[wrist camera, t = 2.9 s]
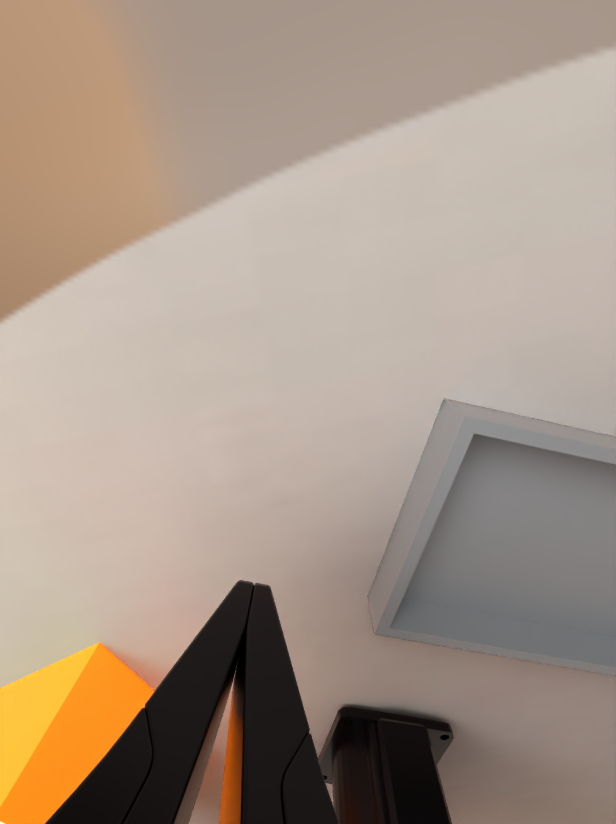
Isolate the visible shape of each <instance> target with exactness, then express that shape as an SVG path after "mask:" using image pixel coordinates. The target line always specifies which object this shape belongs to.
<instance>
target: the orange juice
mask: <svg viewBox="0 0 616 824" xmlns="http://www.w3.org/2000/svg"><path fill="white" fill-rule="evenodd" d="M153 693H154V690H153V689H152V688H151V687H149V686H148V685H147V684H146V683H145V682H144V681H143V680H142V679H140V678H139V677H138V676H137V675H136V674H135V673H134V672H132V671H131V670H130V669H129V668H128V667H127V666H126V665H125V664H123V663H122V662H121V661H120V660H119V659H118V658H117V657H115V656H114V655H113V654H112V653H111V652H110V651H109V650H108V649H106V648H105V647H104V646H103V645H102V644H101V643H100V642H99V643H97V644H95V645H93V646H91V647H89V648H87V649H84V650H82V651H80V652H78V653H76V654H74V655H71V656H69V657H67V658H65V659H63V660H61V661H59V662H56V663H54V664H52V665H50V666H48V667H46V668H43V669H41V670H39V671H37V672H35V673H33V674H31V675H28V676H26V677H24V678H22V679H20V680H18V681H15V682H13V683H11V684H9V685H7V686H5V687H2V688H0V824H45V822H46V821H47V820H48V819H49V818H50V817H51V816H52V815H53V814H54V812H55V811H56V810H57V809H58V808H59V807H60V806H61V805H62V804H63V802H64V801H65V800H66V799H67V798H68V797H69V796H70V795H71V794H72V793H73V791H74V790H75V789H76V788H77V787H78V786H79V785H80V783H81V782H82V781H83V780H84V779H85V778H86V776H87V775H88V774H89V773H90V772H91V771H92V770H93V768H94V767H95V766H96V765H97V764H98V763H99V761H100V760H101V759H102V758H103V757H104V756H105V754H106V753H107V752H108V751H109V749H110V748H111V747H112V746H113V744H114V743H115V742H116V741H117V739H118V738H119V737H120V736H121V734H122V733H123V732H124V730H125V729H126V728H127V727H128V725H129V724H130V723H131V721H132V720H133V719H134V717H135V716H136V715H137V713H138V712H139V711H140V710H141V708H143V707H145V703H146V702H147V701H148V699H149V698H150V697H151V695H152V694H153Z"/></svg>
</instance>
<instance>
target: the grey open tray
mask: <svg viewBox="0 0 616 824" xmlns="http://www.w3.org/2000/svg"><path fill="white" fill-rule="evenodd" d="M368 602H369V608H370V613H371V619H372V624H373V630H374V634H375V635H381V636H387V637H392V638H398V639H404V640H410V641H415V642H421V643H427V644H433V645H439V646H444V647H450V648H456V649H462V650H467V651H473V652H479V653H485V654H490V655H496V656H502V657H508V658H513V659H519V660H525V661H531V662H537V663H542V664H548V665H554V666H560V667H565V668H571V669H577V670H583V671H588V672H594V673H600V674H606V675H612V676H616V437H614V436H610V435H605V434H601V433H596V432H592V431H587V430H583V429H578V428H574V427H570V426H565V425H561V424H556V423H552V422H547V421H543V420H538V419H534V418H529V417H525V416H521V415H516V414H512V413H507V412H503V411H498V410H494V409H489V408H485V407H480V406H476V405H472V404H467V403H463V402H458V401H454V400H449V399H445V398H444V399H443V401H442V404H441V407H440V409H439V412H438V414H437V417H436V420H435V422H434V425H433V427H432V430H431V433H430V435H429V438H428V440H427V443H426V446H425V448H424V451H423V453H422V456H421V459H420V461H419V464H418V466H417V469H416V472H415V474H414V477H413V479H412V482H411V485H410V487H409V490H408V492H407V495H406V498H405V500H404V503H403V505H402V508H401V510H400V513H399V516H398V518H397V521H396V523H395V526H394V529H393V531H392V534H391V536H390V539H389V542H388V544H387V547H386V549H385V552H384V555H383V557H382V560H381V562H380V565H379V568H378V570H377V573H376V575H375V578H374V581H373V583H372V586H371V588H370V591H369V594H368Z"/></svg>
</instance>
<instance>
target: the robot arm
mask: <svg viewBox="0 0 616 824" xmlns="http://www.w3.org/2000/svg"><path fill="white" fill-rule="evenodd" d="M236 666H237V667H236ZM235 671H236V672H235ZM234 675H235V678H234ZM233 679H234V684H233V692H232V701H231V711H230V721H229V730H228V740H227V750H226V759H225V769H224V778H223V788H222V798H221V807H220V817H219V824H452V822H451V818H450V814H449V811H448V807H447V803H446V799H445V795H444V791H443V788H442V784H441V780H440V776H439V772H438V769H437V763H438V762H439V760H440V759H441V757H442V756H443V754H444V753H445V751H446V749H447V748H448V746H449V745H450V743H451V742H452V740H453V738H454V735H453V732H452V729H451V726H450V725H449V724H447V723H442V722H436V721H430V720H424V719H417V718H411V717H405V716H399V715H393V714H386V713H380V712H374V711H368V710H361V709H355V708H347V707H346V708H342V709H340V710H339V711H338V713H337V716H336V718H335V720H334V723H333V725H332V728H331V730H330V732H329V735H328V737H327V739H326V742H325V744H324V747H323V749H322V751H321V754H320V756H319V759H318V757H317V754H316V750H315V746H314V743H313V739H312V736H311V734H310V733H309V730H310V729H309V725H308V722H307V718H306V714H305V711H304V707H303V703H302V700H301V696H300V693H299V689H298V685H297V682H296V678H295V674H294V671H293V667H292V664H291V660H290V656H289V653H288V649H287V645H286V642H285V638H284V634H283V631H282V627H281V624H280V620H279V616H278V613H277V609H276V605H275V602H274V598H273V595H272V591H271V588H270V586H269V585H265V584H259V583H256V584H255V585H254V584H253V583H252V582H248V581H243V580H239V581H238V582H237V583H236V584H235V586H234V587H233V588H232V590H231V591H230V592H229V593H228V595H227V596H226V597H225V599H224V600H223V601H222V603H221V604H220V605H219V607H218V608H217V609H216V611H215V612H214V613H213V615H212V616H211V617H210V619H209V620H208V621H207V623H206V624H205V625H204V627H203V628H202V629H201V631H200V632H199V633H198V634H197V636H196V637H195V638H194V640H193V641H192V642H191V644H190V645H189V646H188V648H187V649H186V650H185V652H184V653H183V654H182V656H181V657H180V658H179V660H178V661H177V662H176V664H175V665H174V666H173V668H172V669H171V670H170V671H169V673H168V674H167V675H166V677H165V678H164V679H163V681H162V682H161V683H160V685H159V686H158V687H157V689H156V690H155V691H154V693H153V694H152V695H151V697H150V698H149V699H148V701H147V702H146V703H145V707H143V708H141V710H140V711H139V712H138V713H137V715H136V716H135V717H134V719H133V720H132V721H131V723H130V724H129V725H128V727H127V728H126V729H125V730H124V732H123V733H122V734H121V736H120V737H119V738H118V739H117V741H116V742H115V743H114V744H113V746H112V747H111V748H110V749H109V751H108V752H107V753H106V754H105V756H104V757H103V758H102V759H101V760H100V761H99V763H98V764H97V765H96V766H95V767H94V768H93V770H92V771H91V772H90V773H89V774H88V775H87V776H86V778H85V779H84V780H83V781H82V782H81V783H80V785H79V786H78V787H77V788H76V789H75V790H74V791H73V793H72V794H71V795H70V796H69V797H68V798H67V799H66V800H65V801H64V802H63V804H62V805H61V806H60V807H59V808H58V809H57V810H56V811H55V812H54V814H53V815H52V816H51V817H50V818H49V819H48V820H47V821H46V822H45V824H189V821H190V818H191V814H192V811H193V808H194V805H195V802H196V798H197V795H198V792H199V789H200V786H201V783H202V779H203V776H204V773H205V770H206V767H207V763H208V760H209V757H210V754H211V751H212V748H213V744H214V741H215V738H216V735H217V732H218V728H219V725H220V722H221V719H222V716H223V712H224V709H225V706H226V703H227V700H228V697H229V693H230V690H231V686H232V683H233ZM325 783H330V784H333V804H334V807H333V804H332V801H331V798H330V796H329V793H328V790H327V787H326V784H325Z"/></svg>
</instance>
